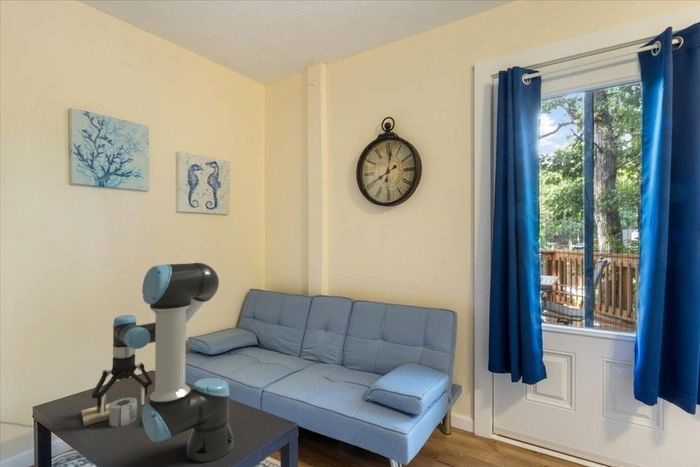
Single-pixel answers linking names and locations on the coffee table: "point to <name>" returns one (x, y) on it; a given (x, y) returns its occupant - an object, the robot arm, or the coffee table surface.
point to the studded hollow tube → (122, 412)
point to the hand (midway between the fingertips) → (122, 408)
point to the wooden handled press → (95, 413)
